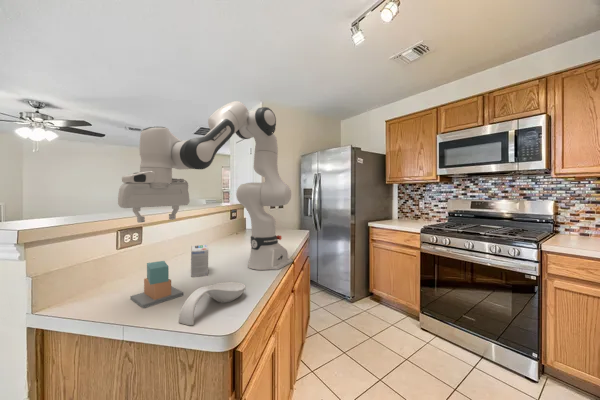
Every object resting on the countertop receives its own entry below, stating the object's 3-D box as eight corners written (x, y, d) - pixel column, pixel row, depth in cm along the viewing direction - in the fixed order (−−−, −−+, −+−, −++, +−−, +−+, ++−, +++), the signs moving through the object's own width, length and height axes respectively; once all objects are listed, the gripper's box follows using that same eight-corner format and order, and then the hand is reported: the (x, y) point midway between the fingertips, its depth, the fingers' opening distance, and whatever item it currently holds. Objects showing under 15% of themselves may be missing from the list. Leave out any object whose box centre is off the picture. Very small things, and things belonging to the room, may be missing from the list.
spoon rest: (222, 289, 87) (222, 269, 87) (252, 293, 84) (252, 273, 84) (167, 322, 65) (167, 295, 65) (204, 330, 61) (204, 302, 61)
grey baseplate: (169, 287, 88) (169, 285, 88) (183, 295, 82) (183, 292, 82) (130, 299, 78) (130, 296, 78) (143, 308, 72) (143, 304, 72)
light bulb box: (191, 269, 108) (191, 245, 108) (207, 268, 111) (207, 244, 111) (190, 277, 99) (190, 250, 98) (208, 275, 101) (208, 249, 101)
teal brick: (164, 274, 84) (163, 260, 84) (168, 281, 78) (168, 266, 78) (147, 277, 81) (146, 263, 81) (150, 284, 75) (150, 269, 75)
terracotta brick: (160, 288, 84) (160, 274, 84) (171, 294, 79) (171, 280, 79) (144, 293, 80) (144, 278, 80) (154, 299, 75) (154, 284, 75)
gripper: (183, 179, 89) (184, 217, 89) (115, 176, 73) (116, 223, 73) (192, 178, 85) (193, 218, 86) (123, 176, 69) (124, 225, 69)
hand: (157, 220), depth 79 cm, fingers open, 8 cm apart
